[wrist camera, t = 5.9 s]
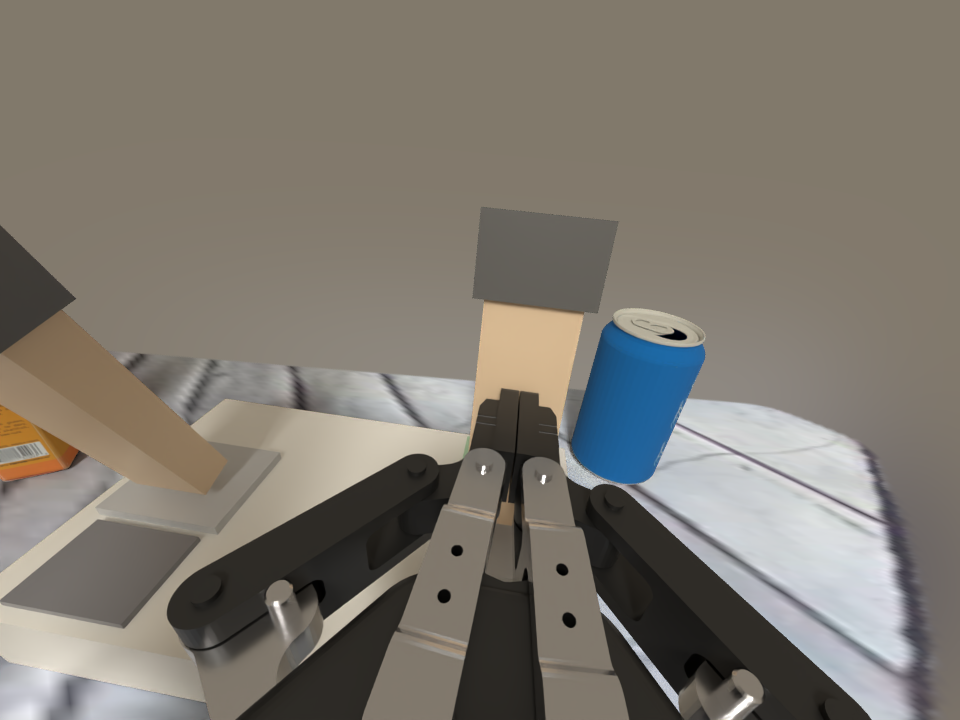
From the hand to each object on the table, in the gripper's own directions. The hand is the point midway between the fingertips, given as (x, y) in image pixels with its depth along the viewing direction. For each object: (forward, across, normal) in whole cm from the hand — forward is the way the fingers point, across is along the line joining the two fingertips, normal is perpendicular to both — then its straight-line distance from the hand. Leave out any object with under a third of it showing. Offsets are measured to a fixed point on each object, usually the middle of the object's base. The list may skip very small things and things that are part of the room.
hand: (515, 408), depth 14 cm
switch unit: (0, +8, +12) cm, 14 cm away
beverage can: (+11, -9, +12) cm, 19 cm away
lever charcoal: (-1, +16, +6) cm, 17 cm away
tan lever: (0, 0, +6) cm, 6 cm away
